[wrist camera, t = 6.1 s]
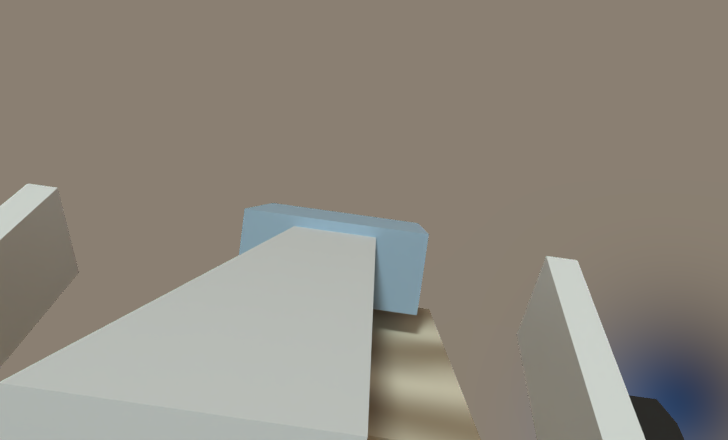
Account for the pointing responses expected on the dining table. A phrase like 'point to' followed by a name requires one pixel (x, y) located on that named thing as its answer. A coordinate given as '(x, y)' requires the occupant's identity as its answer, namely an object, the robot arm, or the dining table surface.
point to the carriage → (236, 342)
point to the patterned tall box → (414, 382)
